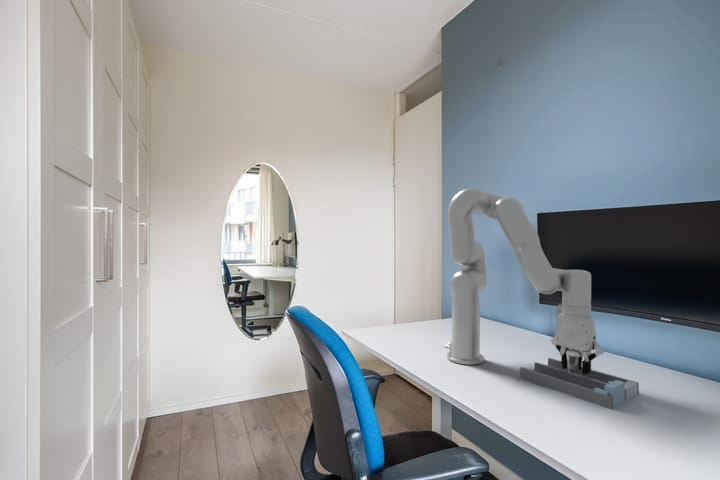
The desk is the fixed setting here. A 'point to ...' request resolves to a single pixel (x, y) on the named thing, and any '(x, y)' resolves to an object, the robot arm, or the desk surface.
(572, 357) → the milkshake
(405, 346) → the desk surface
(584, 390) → the grey divided tray
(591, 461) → the desk surface
